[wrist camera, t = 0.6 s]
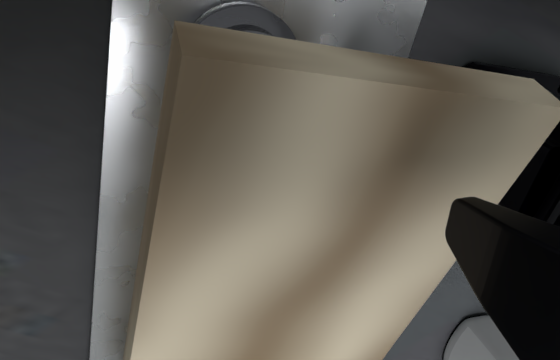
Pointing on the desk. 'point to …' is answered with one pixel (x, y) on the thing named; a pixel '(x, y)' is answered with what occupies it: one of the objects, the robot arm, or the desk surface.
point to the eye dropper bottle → (478, 342)
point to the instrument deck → (312, 193)
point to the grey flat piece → (148, 99)
